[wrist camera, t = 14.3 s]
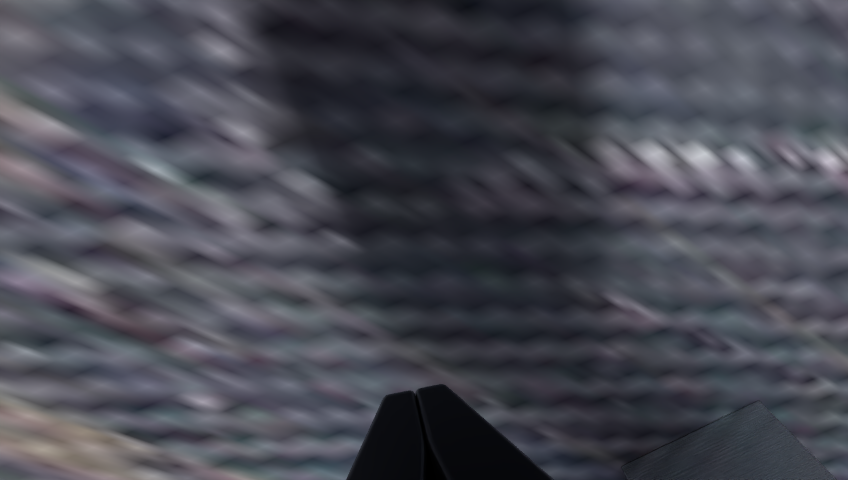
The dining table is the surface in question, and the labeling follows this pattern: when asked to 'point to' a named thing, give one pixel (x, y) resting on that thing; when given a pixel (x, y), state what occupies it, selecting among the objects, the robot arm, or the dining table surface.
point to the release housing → (732, 452)
